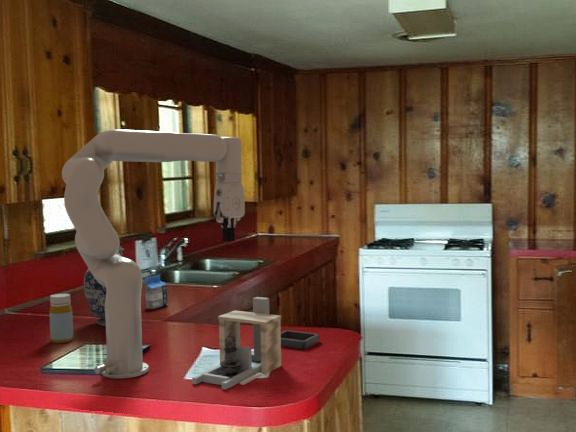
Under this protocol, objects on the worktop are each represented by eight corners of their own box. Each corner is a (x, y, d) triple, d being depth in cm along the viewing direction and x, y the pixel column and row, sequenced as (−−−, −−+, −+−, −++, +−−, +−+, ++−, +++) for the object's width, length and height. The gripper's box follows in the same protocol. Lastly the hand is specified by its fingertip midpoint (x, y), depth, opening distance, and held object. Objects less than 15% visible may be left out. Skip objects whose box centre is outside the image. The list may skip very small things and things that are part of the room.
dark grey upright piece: (230, 371, 187) (229, 328, 186) (246, 375, 183) (245, 331, 182) (215, 377, 182) (214, 332, 181) (232, 381, 179) (231, 335, 178)
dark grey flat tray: (304, 349, 207) (304, 341, 206) (270, 345, 212) (270, 337, 212) (319, 341, 215) (319, 334, 215) (286, 337, 221) (286, 330, 221)
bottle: (67, 336, 227) (65, 292, 226) (77, 340, 222) (75, 295, 221) (47, 341, 222) (44, 295, 221) (56, 344, 217) (54, 298, 216)
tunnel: (266, 374, 184) (265, 322, 183) (219, 366, 191) (217, 316, 190) (282, 365, 191) (281, 315, 190) (235, 358, 199) (234, 310, 198)
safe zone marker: (243, 384, 175) (243, 383, 175) (198, 377, 182) (198, 375, 182) (262, 375, 183) (261, 373, 183) (218, 367, 190) (218, 366, 190)
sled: (225, 389, 172) (223, 319, 170) (192, 383, 177) (190, 315, 175) (280, 360, 195) (279, 298, 194) (249, 356, 201) (248, 295, 199)
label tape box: (153, 309, 267) (152, 278, 266) (145, 308, 269) (144, 277, 268) (168, 305, 275) (167, 275, 274) (160, 304, 277) (159, 274, 276)
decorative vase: (76, 320, 250) (74, 244, 247) (124, 314, 260) (123, 241, 258) (96, 332, 232) (94, 250, 230) (147, 325, 243) (146, 246, 241)
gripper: (223, 179, 193) (223, 244, 194) (253, 179, 206) (253, 239, 207) (202, 179, 197) (202, 242, 198) (233, 178, 210) (232, 238, 211)
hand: (228, 241), depth 203 cm, fingers closed
